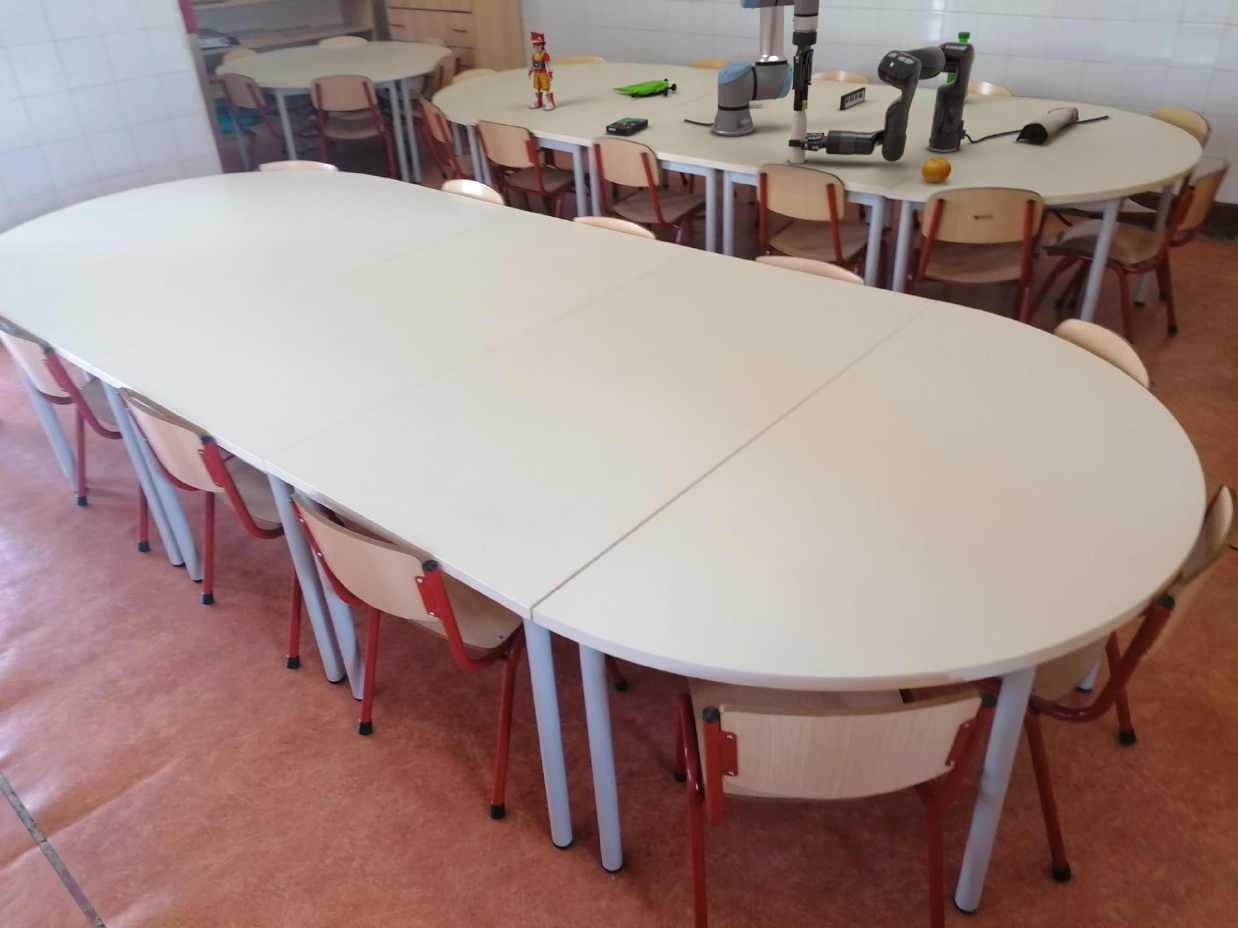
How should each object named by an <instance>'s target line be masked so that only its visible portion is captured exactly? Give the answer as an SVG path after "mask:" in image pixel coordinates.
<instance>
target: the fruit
mask: <svg viewBox="0 0 1238 928" xmlns="http://www.w3.org/2000/svg"><path fill="white" fill-rule="evenodd" d="M951 173H952V165H951V163H950V161H949V160H948V159H947V158H945V157H943V156H933V157H929V158H927V159H926V160H925V161H924V162H923V164H922V166H921V176H922V177H923V179H924V180H925V181H927V182H930V183H941V182H944V181H945V180H946V179H948V178H949V177H950V175H951Z"/></svg>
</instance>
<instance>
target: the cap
mask: <svg viewBox="0 0 1238 928" xmlns="http://www.w3.org/2000/svg"><path fill="white" fill-rule="evenodd" d="M808 106H809V100H808V101H806V100H803V106H802V110H805V111H806V110H808V109H809V108H808ZM792 107H793V108H792V109H793V110H794V105H793V106H792Z"/></svg>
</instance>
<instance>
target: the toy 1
mask: <svg viewBox="0 0 1238 928" xmlns="http://www.w3.org/2000/svg"><path fill="white" fill-rule="evenodd" d="M529 33H530V35H531V36H528V37H527V38H528V39H529V40H528V41H527V43H529V44H530V43H531V44H532V48H533V50H534V51H533V52H532V55H531V58H530V59H531V63H530V66H528V74H527V75H528V76H527V77H528V79H529V80H531V75H532V74H533V84H532V85H533V86H532V87H533V88H534V89H535V90H536V92H534V95H535V97H536V100H535V101H533V102H531V105H530V108H531V109H535V108H538V107H542V106H544V101H543V100H544V99H543V95H544V92H546V94H545V97H546V99H547V103H546V104H545V106H544V110H546V111H549V110H553V109H554V107H555V106H556V105H555V99H554V92H551V91H550V90H551V86H552V84H551V82H552V81H553V80H554V77H553V73H554V71H555V70H554V69H552V68H551V63H550V61H551V59H550V58H551V57H550V54H549V53H548V52H547V50H546V48H545V46H546V44H547V41H545V35H544V33H543V32H542V33H539V32H535V31H529Z"/></svg>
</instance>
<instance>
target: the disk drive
mask: <svg viewBox="0 0 1238 928" xmlns="http://www.w3.org/2000/svg"><path fill="white" fill-rule="evenodd" d="M648 126H649V120H648V119H647V118H639V117H636V118H635V117H628V116H627V117H624V118H621V119H619V120H617V121H614V122H613V123H610V124H608V125H606V126H605V130H606V131H605V132H606V133H607V134H613V135H619V136H621V135H622V136H630V135H633V134H634V133H637V132H638V131H641V130H643V129H645V128H646V127H648Z"/></svg>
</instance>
